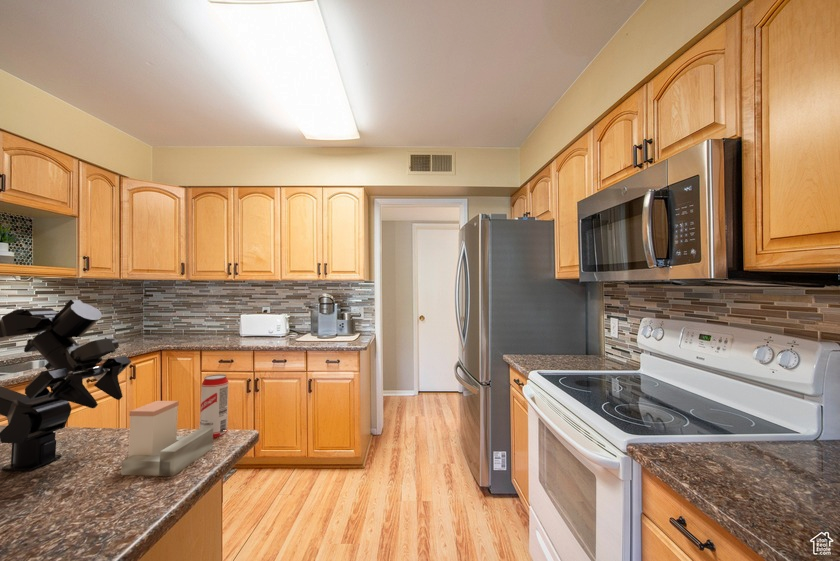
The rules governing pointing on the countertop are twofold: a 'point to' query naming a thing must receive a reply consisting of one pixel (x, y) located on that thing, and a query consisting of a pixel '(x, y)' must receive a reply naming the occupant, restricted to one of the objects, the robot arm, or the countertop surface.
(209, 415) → the beer can
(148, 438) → the push key
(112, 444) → the countertop surface
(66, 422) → the robot arm
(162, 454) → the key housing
